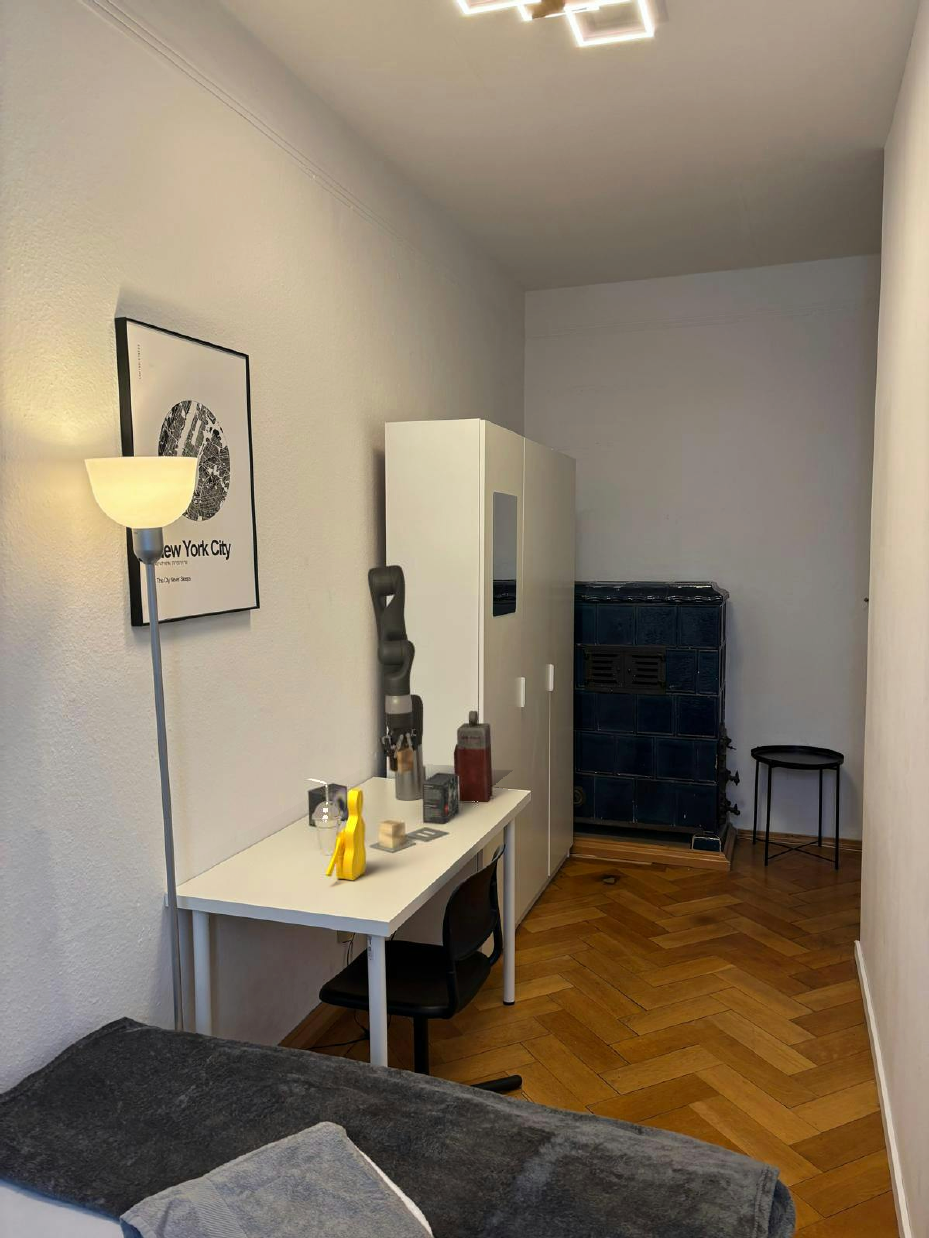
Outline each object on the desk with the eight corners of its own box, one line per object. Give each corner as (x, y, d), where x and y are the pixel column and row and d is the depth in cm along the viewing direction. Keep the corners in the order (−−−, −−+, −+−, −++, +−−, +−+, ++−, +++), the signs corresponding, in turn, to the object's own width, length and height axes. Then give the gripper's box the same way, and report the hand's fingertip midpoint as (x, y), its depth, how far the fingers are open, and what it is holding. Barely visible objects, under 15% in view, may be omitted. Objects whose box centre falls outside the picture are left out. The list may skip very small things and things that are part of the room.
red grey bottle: (458, 794, 309) (455, 708, 306) (492, 794, 306) (489, 708, 304) (452, 801, 300) (448, 713, 298) (487, 802, 297) (484, 713, 295)
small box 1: (323, 829, 276) (322, 793, 275) (308, 825, 280) (306, 790, 279) (349, 819, 284) (347, 785, 284) (333, 816, 288) (332, 782, 288)
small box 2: (444, 824, 276) (443, 783, 275) (422, 823, 278) (421, 782, 277) (459, 812, 289) (458, 773, 288) (438, 810, 291) (436, 771, 290)
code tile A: (425, 828, 273) (425, 826, 273) (448, 833, 267) (448, 832, 267) (403, 836, 267) (403, 834, 267) (426, 841, 261) (426, 840, 261)
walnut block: (401, 767, 278) (400, 746, 277) (413, 769, 275) (412, 748, 274) (389, 770, 274) (388, 750, 274) (401, 773, 271) (400, 752, 270)
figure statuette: (353, 863, 245) (349, 779, 243) (381, 866, 242) (377, 780, 241) (319, 887, 229) (315, 797, 227) (348, 890, 226) (344, 799, 224)
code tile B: (393, 838, 265) (393, 836, 265) (416, 844, 259) (416, 842, 259) (369, 846, 258) (369, 845, 258) (392, 852, 252) (392, 851, 252)
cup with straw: (327, 859, 249) (323, 784, 247) (305, 853, 255) (301, 779, 253) (352, 851, 255) (348, 777, 253) (330, 844, 261) (326, 772, 259)
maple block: (392, 840, 262) (391, 818, 262) (405, 843, 259) (404, 821, 258) (379, 844, 258) (378, 823, 258) (392, 848, 255) (391, 826, 255)
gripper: (407, 704, 281) (409, 761, 282) (371, 712, 270) (374, 771, 272) (425, 707, 276) (428, 765, 277) (390, 715, 265) (392, 775, 267)
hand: (401, 768), depth 274 cm, fingers closed on walnut block, 5 cm apart
